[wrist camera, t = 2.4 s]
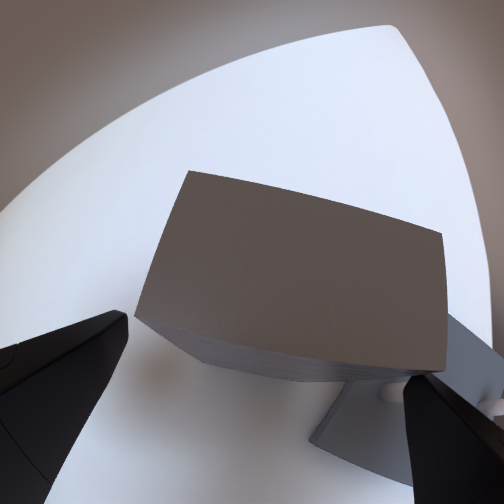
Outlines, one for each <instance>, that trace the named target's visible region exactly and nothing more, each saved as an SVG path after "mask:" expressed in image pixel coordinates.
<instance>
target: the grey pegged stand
mask: <svg viewBox="0 0 504 504" xmlns="http://www.w3.org/2000/svg"><path fill="white" fill-rule="evenodd" d="M432 374H434V375H435V376H436V377H437V378H439V379H440V380H441V381H442V382H444V383H445V384H446V385H448V386H449V387H450V388H451V389H453V390H454V391H455V392H456V393H458V394H459V395H460V396H461V397H463V398H464V399H465V400H467V401H468V402H469V403H470V404H472V405H473V406H474V407H475V408H477V409H478V410H479V411H480V412H482V413H483V414H484V415H485V416H487V417H488V418H489V419H490V420H492V421H493V418H494V416H495V415H504V399H500V398H501V395H502V392H503V388H504V359H503V358H502V357H501V356H499V355H498V354H497V353H496V352H495V351H494V350H493V349H491V348H490V347H489V346H488V345H487V344H486V343H484V342H483V341H482V340H481V339H480V338H478V337H477V336H476V335H475V334H473V333H472V332H471V331H470V330H469V329H467V328H466V327H465V326H464V325H462V324H461V323H460V322H459V321H457V320H456V319H455V318H453V317H452V316H451V315H450V314H448V338H447V360H446V371H442V372H436V373H432ZM410 377H411V376H407V377H398V378H387V379H375V380H361V381H347V383H346V384H345V386H344V388H343V389H342V391H341V393H340V394H339V396H338V398H337V399H336V401H335V403H334V404H333V406H332V407H331V409H330V410H329V412H328V414H327V415H326V417H325V418H324V420H323V421H322V423H321V424H320V426H319V427H318V428H317V430H316V431H315V433H314V434H313V436H312V437H311V439H310V440H309V442H311V443H312V444H314V445H315V446H317V447H319V448H321V449H323V450H325V451H327V452H329V453H331V454H333V455H335V456H337V457H340V458H342V459H344V460H346V461H348V462H350V463H353V464H355V465H357V466H359V467H362V468H364V469H366V470H369V471H371V472H374V473H376V474H379V475H381V476H384V477H386V478H389V479H392V480H394V481H397V482H400V483H403V484H406V485H409V486H412V487H413V481H412V472H411V464H410V456H409V449H408V443H407V436H406V428H405V414H404V403H403V389H404V386H405V385H406V383H407V382H408V380H409V379H410Z"/></svg>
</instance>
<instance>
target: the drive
mask: <svg viewBox="0 0 504 504" xmlns="http://www.w3.org/2000/svg"><path fill="white" fill-rule="evenodd" d="M134 317H136V318H137V319H139V320H140V321H141V322H143V323H144V324H145V325H147V326H148V327H150V328H151V329H152V330H154V331H155V332H157V333H158V334H160V335H161V336H163V337H164V338H165V339H167V340H168V341H170V342H171V343H173V344H174V345H176V346H177V347H179V348H180V349H182V350H183V351H185V352H187V353H188V354H190V355H191V356H193V357H194V358H196V359H198V360H199V361H201V362H204V363H208V364H212V365H216V366H220V367H225V368H229V369H234V370H238V371H243V372H248V373H253V374H258V375H263V376H268V377H274V378H280V379H286V380H292V381H298V382H340V381H361V380H375V379H387V378H398V377H407V376H415V375H422V374H429V373H436V372H442V371H446V360H447V338H448V302H447V280H446V267H445V256H444V247H443V239H442V233H439V232H436V231H433V230H430V229H427V228H424V227H421V226H418V225H415V224H412V223H409V222H405V221H402V220H399V219H396V218H392V217H389V216H386V215H382V214H379V213H375V212H372V211H368V210H365V209H361V208H358V207H354V206H350V205H347V204H343V203H339V202H335V201H331V200H327V199H323V198H319V197H315V196H311V195H307V194H303V193H299V192H295V191H290V190H286V189H282V188H277V187H273V186H268V185H263V184H259V183H254V182H249V181H244V180H239V179H234V178H229V177H223V176H218V175H213V174H207V173H201V172H195V171H190V170H189V171H188V173H187V175H186V178H185V180H184V182H183V184H182V187H181V189H180V191H179V194H178V196H177V199H176V201H175V203H174V206H173V208H172V211H171V213H170V216H169V218H168V221H167V223H166V226H165V228H164V231H163V234H162V236H161V239H160V241H159V244H158V247H157V250H156V252H155V255H154V258H153V261H152V263H151V266H150V269H149V272H148V275H147V278H146V281H145V284H144V287H143V290H142V293H141V296H140V299H139V302H138V305H137V308H136V312H135V315H134Z"/></svg>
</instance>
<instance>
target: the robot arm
mask: <svg viewBox="0 0 504 504" xmlns="http://www.w3.org/2000/svg"><path fill="white" fill-rule="evenodd" d="M128 336H129V334H128V316H127V314H126V313H124V312H121V311H118V310H112V311H109V312H106V313H103V314H100V315H97V316H95V317H92V318H89V319H86V320H83V321H80V322H77V323H75V324H72V325H69V326H66V327H63V328H60V329H57V330H55V331H52V332H49V333H46V334H43V335H40V336H37V337H34V338H31V339H29V340H26V341H23V342H20V343H19V344H14V345H11V346H8V347H5V348H2V349H0V504H44V502H45V500H46V498H47V496H48V494H49V492H50V490H51V488H52V485H53V483H54V481H55V479H56V477H57V475H58V473H59V471H60V469H61V467H62V466H63V464H64V462H65V460H66V458H67V456H68V454H69V452H70V450H71V448H72V447H73V445H74V443H75V441H76V439H77V437H78V436H79V434H80V432H81V430H82V428H83V427H84V425H85V423H86V421H87V419H88V418H89V416H90V414H91V412H92V411H93V409H94V407H95V405H96V404H97V402H98V400H99V399H100V397H101V395H102V393H103V392H104V390H105V388H106V387H107V385H108V383H109V381H110V379H111V377H112V375H113V373H114V370H115V368H116V366H117V364H118V361H119V359H120V357H121V355H122V353H123V350H124V348H125V346H126V344H127V341H128ZM403 403H404V414H405V428H406V436H407V443H408V449H409V456H410V464H411V472H412V481H413V491H414V504H504V430H503V429H502V428H500V427H499V426H498V425H496V424H495V423H494V422H493V421H492V420H490V419H489V418H488V417H487V416H485V415H484V414H483V413H482V412H480V411H479V410H478V409H477V408H475V407H474V406H473V405H472V404H470V403H469V402H468V401H467V400H465V399H464V398H463V397H461V396H460V395H459V394H458V393H456V392H455V391H454V390H453V389H451V388H450V387H449V386H448V385H446V384H445V383H444V382H442V381H441V380H440V379H439V378H437V377H436V376H435V375H434V374H432V373H429V374H422V375H415V376H411V377H410V379H409V380H408V382H407V383H406V385H405V386H404V389H403Z"/></svg>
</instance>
